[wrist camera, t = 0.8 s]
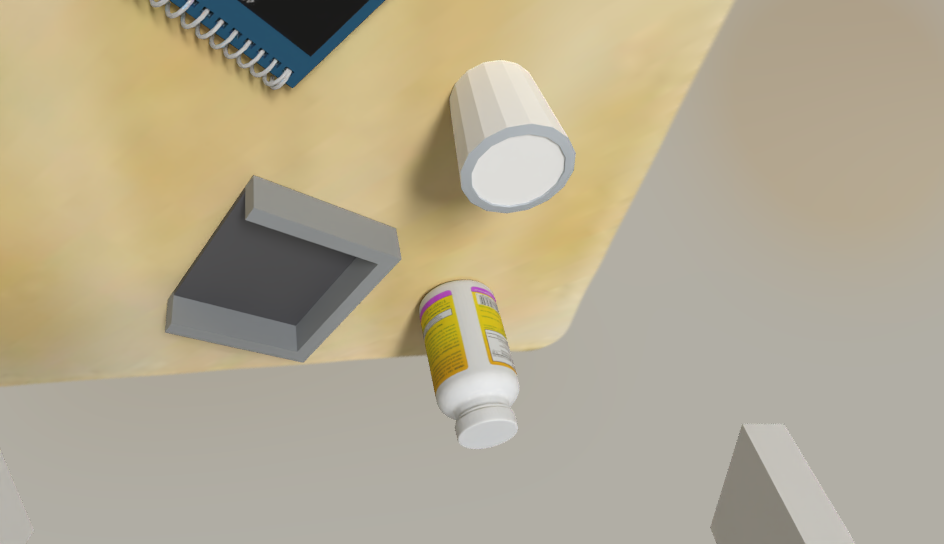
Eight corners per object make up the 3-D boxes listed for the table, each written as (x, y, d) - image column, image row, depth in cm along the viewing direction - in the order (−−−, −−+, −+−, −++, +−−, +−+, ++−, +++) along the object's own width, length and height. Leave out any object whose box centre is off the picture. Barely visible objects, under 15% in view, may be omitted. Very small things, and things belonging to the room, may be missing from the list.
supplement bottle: (414, 326, 62) (439, 460, 55) (420, 278, 57) (448, 419, 50) (487, 320, 64) (521, 449, 56) (499, 273, 59) (538, 408, 51)
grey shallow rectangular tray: (167, 299, 53) (165, 332, 51) (253, 175, 46) (253, 207, 44) (301, 332, 60) (303, 362, 58) (396, 228, 52) (401, 259, 50)
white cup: (531, 140, 48) (559, 212, 44) (433, 140, 46) (452, 216, 42) (556, 52, 43) (590, 124, 39) (446, 49, 41) (470, 125, 37)
